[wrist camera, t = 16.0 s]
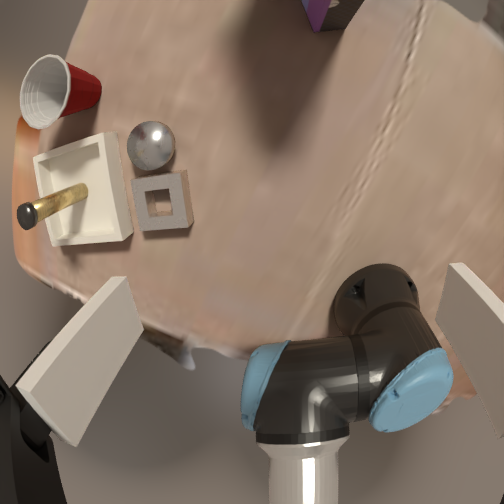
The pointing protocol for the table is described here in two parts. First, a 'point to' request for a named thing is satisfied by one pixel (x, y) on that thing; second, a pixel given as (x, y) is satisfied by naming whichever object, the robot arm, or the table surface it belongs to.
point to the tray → (99, 191)
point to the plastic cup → (56, 91)
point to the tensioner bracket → (158, 178)
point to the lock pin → (50, 205)
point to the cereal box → (330, 13)
